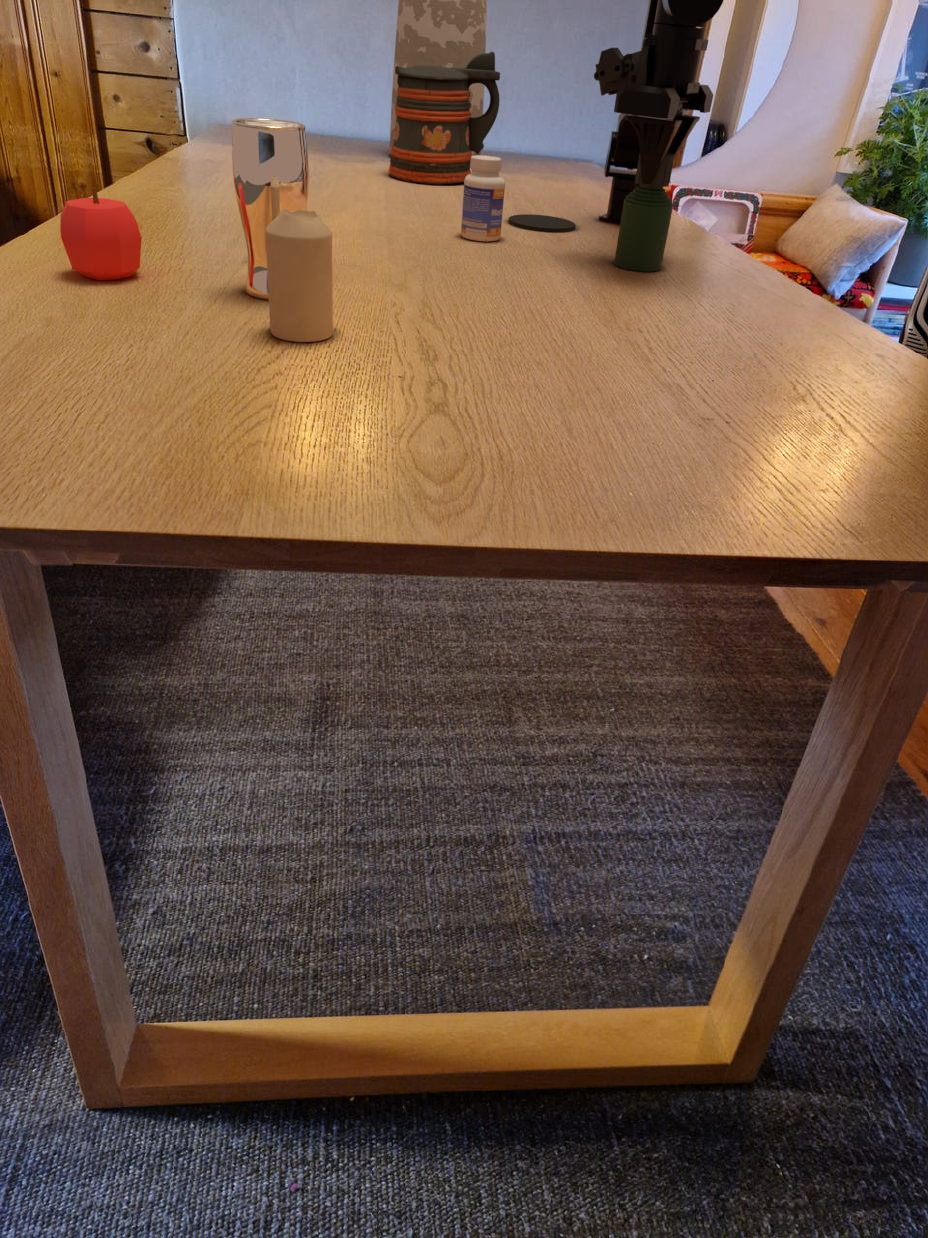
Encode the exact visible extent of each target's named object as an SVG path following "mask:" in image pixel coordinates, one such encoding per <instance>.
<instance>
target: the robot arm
mask: <svg viewBox="0 0 928 1238" xmlns="http://www.w3.org/2000/svg"><path fill="white" fill-rule="evenodd" d="M723 3H724V0H648V5H647V11H646V16H645V22H644V28H643V33H642V38H641V39H642V40H641V45H640V50H637V51H636V52H631V53H626V54H625V55H624V54H623V53H622V51H621V49H619V47H610V48H606V49H604V50H601V51H600V55H599V59H598V62H597V63H596V64H595V72H594V73H593V78H594V80H595V81H597V82H598V84H599V90H600V96H601V97H603V96H605V95H607V94H608V96H613V95H615V100H614V101H615V102H614V107H613V113H616V114H619V115H618V118H617V124H616V130H612V131H611V133H610V138H609V143H608V148H607V153H606V158H605V165H604V170H603V171H604V172H603V174H604V177H605V178H612V180H611V185H610V192H609V198H608V204H607V205H608V206H607V211H606V213H604V214H602V215H601V214H600V215H599V216H598V220H599V221H604V222H611V223H616V224H620V223H621V217H622V211H623V204H624V199H625V198H626V196H627V195H629V194H630V192H633V190H634V189H637V186H640V184H638V183H636V182H635V177H636V171H637V165H638V159H639V155H640V165H641V179H642V183H645V184H651V183H652V181H653V179H654V177H655V175H656V173H657V171H658V169H659V167H660V165H661V163H662V161H663V159H664V157H665V155H666V153H672V154H674V160H675V159H676V157H677V156H678V154H679V152H680V150H681V149H682V148H683V145H684V144H685V142H686V140H687V139H688V137H689V136H690V134H691V133H692V131H693V129H694V128H695V127H696V125H697V123H698V122H699V121H700V120H701V117H700V116H697V115H690V111H697V112H699V113H700V114H701V113H703V114H707V113H710V112H711V108H712V104H713V98H714V93H713V91H712V90H711V87H710V86H709V85H708V84H701V82H698V81H697V77H698V70H699V66H700V61H701V56H702V51H707V50H708V44H709V39H705V35H706V30H707V25H708V22H709V21H710V20H712V19H713V18H714V17H715V15H716V14H717V13H718V12H719V11H720V8H721V7H722V5H723ZM611 167H615V168H611ZM617 168H618V169H617ZM619 168H621V169H619ZM628 169H631V170H628ZM632 169H633V170H632Z"/></svg>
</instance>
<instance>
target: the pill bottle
mask: <svg viewBox="0 0 928 1238" xmlns="http://www.w3.org/2000/svg"><path fill="white" fill-rule="evenodd" d="M501 169H502V158H501V157H499V156H491V155H481V154H480V155H476V156H472V157H471V163H470V170H471V174H469V175H467V176H466V177H465V180H464V182H463V193H462V194H463V195H462V197H463V198H462V213H461V226H460V227H461V228H460V235H461V237H462V238H464V239H466V240H470V241H476V242H496V241H498V240H500V239H501V236H502V235H501V234H502V223H503V211H504V200H505V188H506V181H505V178H503V177H502V176H500V172H501Z"/></svg>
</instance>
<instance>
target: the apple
mask: <svg viewBox="0 0 928 1238" xmlns="http://www.w3.org/2000/svg"><path fill="white" fill-rule="evenodd" d="M91 190H92V191H91V192H92V197H83V198H82V197H81V198H76V199H70V200H66V202H65V204H64V206H63V208H62V210H61V213H60V221H59V222H60V223H59V225H60V227H59V229H60V239H61V241H62V242H61V243H62V244H63V247H64V250H65V252H66V255H67V259H68V260H69V264H70V266H71V268H72V270H74V271H76V272H78V273H79V274H81V275H82V276H84V277H85V278H87V279H92V280H96V281H115V280H116V281H117V280H122V279H126V278H131V277H132V276H133V275H134V274H135V273H136V272H137V271H138V270H139V269H140V268H141V256H142V255H141V253H142V252H141V251H142V235H141V231H140V228H139V225H138V221H137V219H136V217H135V214H133V212H132V211H131V209H130V207H129V206H128V205H127V203H126V202H125V201H122V200H117V199H111V198H106V197H105V198H103V197H99V195H98V192H97V188H96V187H92V188H91Z"/></svg>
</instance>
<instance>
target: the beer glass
mask: <svg viewBox="0 0 928 1238" xmlns="http://www.w3.org/2000/svg"><path fill="white" fill-rule="evenodd" d="M231 122H232V123H231V124H232V142H231V143H232V152H231V153H232V154H231V155H232V174H233V175H232V176H233V185H234V192H235V198H236V203H237V207H238V213H239V216H240V220H241V221H240V222H241V226H242V229H243V233H244V238H245V239H244V240H245V243H246V250H247V273H246V281H245V292H246V294H247V295H249V296H250V297H254V298H257V299H261V300H268V301H269V295H268V275H267V255H266V236H265V229H266V228H267V226H268V225H269V224H270V223H271V222H272V221H273V220H274V219H275V218H276V217H277V216H278V215H279V214H280V212H281V211H282V210H283V209H285V210H288V211H290V212H295V211H298V210H305V211H308V203H309V193H310V191H309V190H310V189H309V188H310V181H309V180H310V175H309V174H310V173H309V171H310V170H309V157H308V156H309V155H308V146H307V145H308V144H307V135H306V125H305V124H304V123H301V122H299V121H298V122H297V121H291V120H284V119H275V118H262V117H261V118H259V117H244V118H243V117H241V118H233V119H232V120H231Z"/></svg>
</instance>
